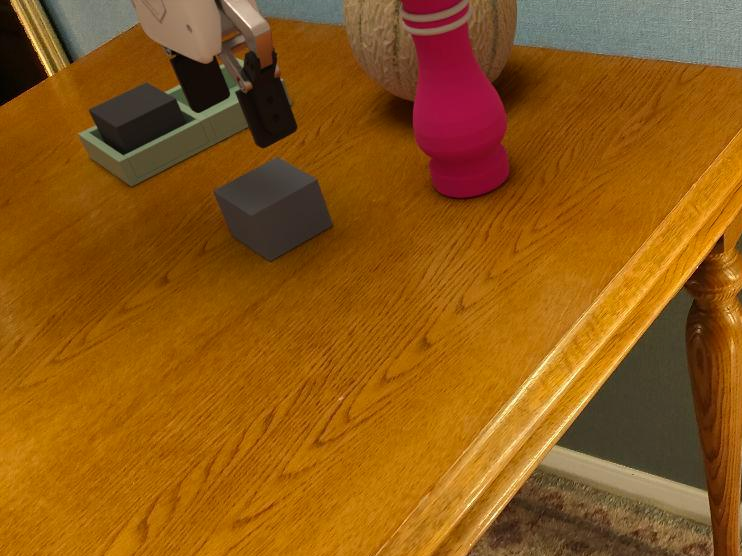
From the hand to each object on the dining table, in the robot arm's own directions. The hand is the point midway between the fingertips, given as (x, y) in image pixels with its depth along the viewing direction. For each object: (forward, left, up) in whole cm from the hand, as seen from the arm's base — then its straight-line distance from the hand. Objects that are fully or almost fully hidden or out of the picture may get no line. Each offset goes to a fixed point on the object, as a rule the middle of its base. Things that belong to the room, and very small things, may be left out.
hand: (243, 121), depth 72 cm
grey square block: (0, 0, -9) cm, 9 cm away
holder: (+4, +23, -9) cm, 25 cm away
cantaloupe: (+22, +6, -9) cm, 24 cm away
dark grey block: (0, +23, -9) cm, 25 cm away
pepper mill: (+14, -7, -9) cm, 18 cm away
